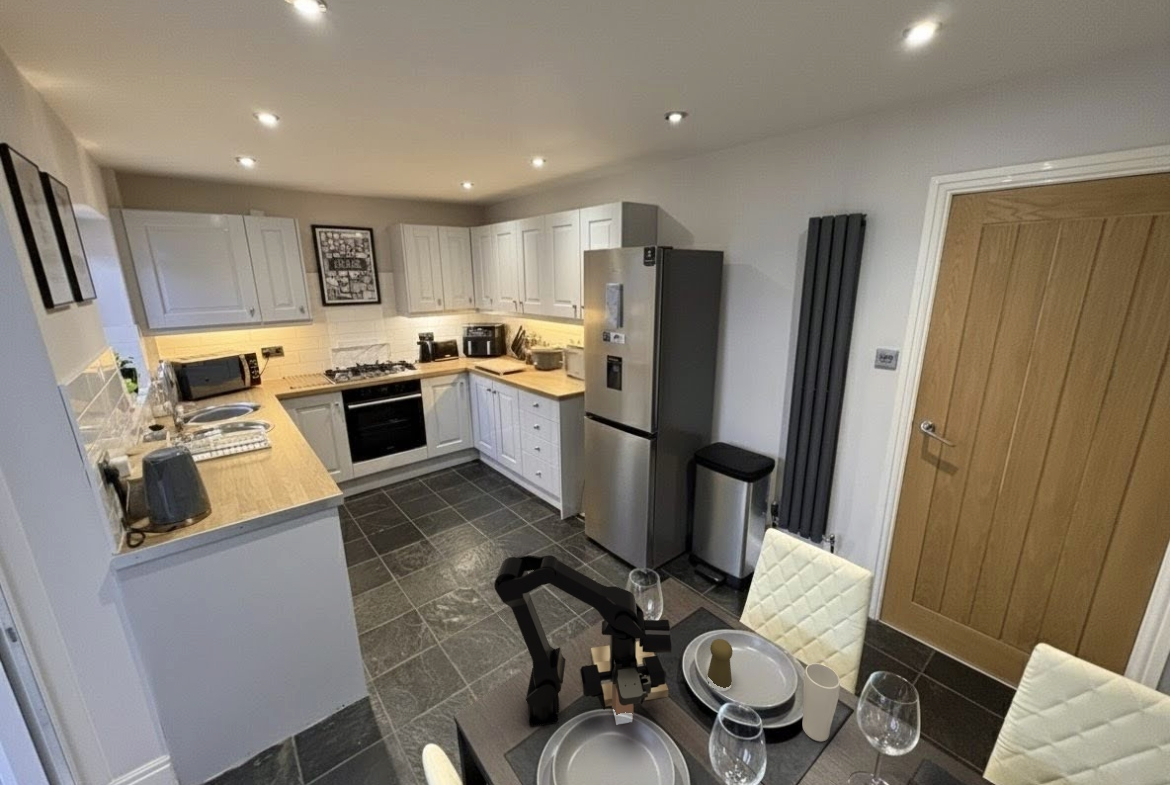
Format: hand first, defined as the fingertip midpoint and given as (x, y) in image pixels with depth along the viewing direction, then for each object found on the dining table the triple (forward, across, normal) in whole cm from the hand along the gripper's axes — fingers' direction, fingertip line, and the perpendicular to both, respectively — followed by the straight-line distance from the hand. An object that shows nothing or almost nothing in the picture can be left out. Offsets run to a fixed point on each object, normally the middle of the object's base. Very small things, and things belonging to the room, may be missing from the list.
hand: (622, 705), depth 105 cm
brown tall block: (+3, 0, 0) cm, 3 cm away
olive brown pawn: (+3, +26, +5) cm, 27 cm away
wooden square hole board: (+3, +4, +11) cm, 12 cm away
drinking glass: (+3, +41, -11) cm, 43 cm away
